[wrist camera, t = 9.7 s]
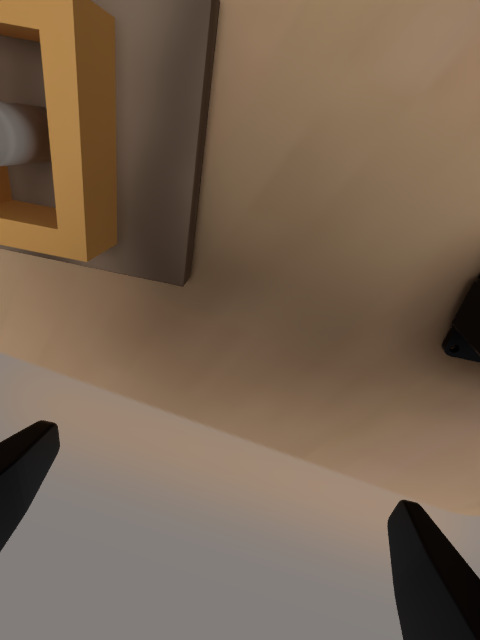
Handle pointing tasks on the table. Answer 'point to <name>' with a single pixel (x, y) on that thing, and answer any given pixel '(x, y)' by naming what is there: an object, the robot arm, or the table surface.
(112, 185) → the tan rectangular frame
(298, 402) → the table surface
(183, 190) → the keeper board
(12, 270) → the table surface
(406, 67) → the table surface
